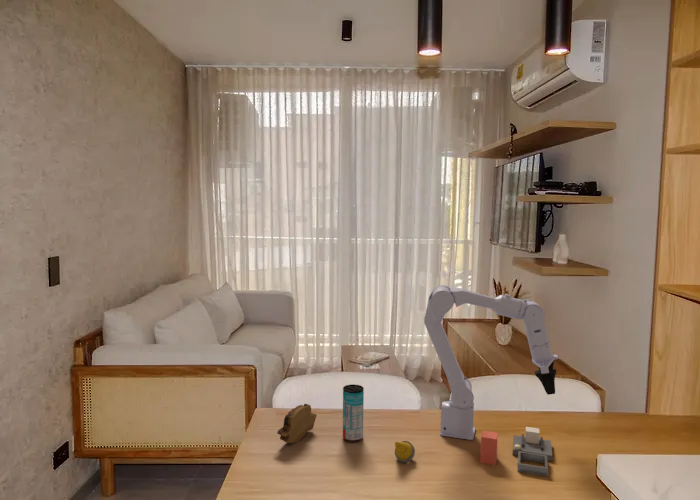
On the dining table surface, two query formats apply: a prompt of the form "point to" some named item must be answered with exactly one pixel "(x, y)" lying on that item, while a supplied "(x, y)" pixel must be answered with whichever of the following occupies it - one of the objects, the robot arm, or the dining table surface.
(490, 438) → the peg
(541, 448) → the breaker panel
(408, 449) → the yellow flanged cylinder
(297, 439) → the wooden carving
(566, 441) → the dining table surface
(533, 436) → the switch
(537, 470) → the frame
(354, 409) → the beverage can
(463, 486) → the dining table surface
